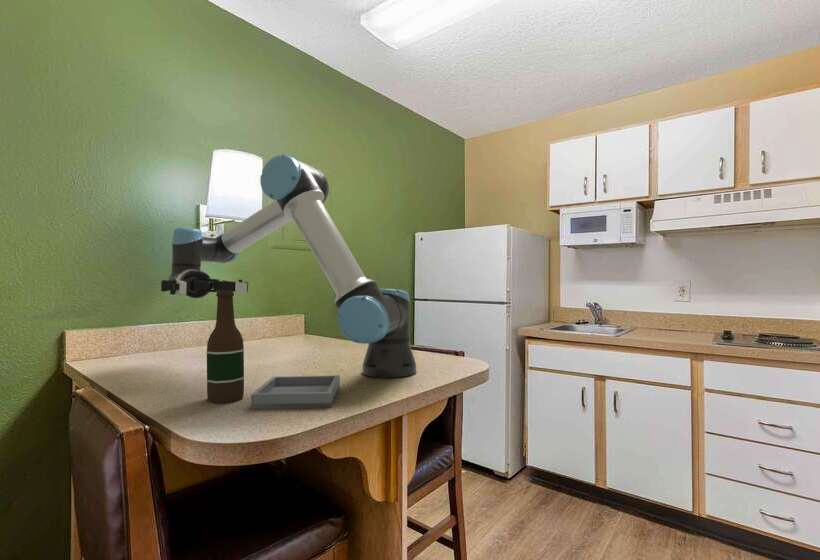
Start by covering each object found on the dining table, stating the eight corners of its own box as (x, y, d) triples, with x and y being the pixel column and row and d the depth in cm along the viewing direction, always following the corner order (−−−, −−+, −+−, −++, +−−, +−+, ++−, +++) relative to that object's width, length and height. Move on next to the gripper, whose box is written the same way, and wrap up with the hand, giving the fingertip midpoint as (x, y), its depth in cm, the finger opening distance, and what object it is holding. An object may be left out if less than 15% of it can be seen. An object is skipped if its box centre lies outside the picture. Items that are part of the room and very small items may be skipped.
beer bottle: (251, 394, 97) (250, 289, 97) (233, 404, 89) (232, 290, 89) (219, 394, 98) (218, 290, 98) (198, 404, 90) (198, 291, 90)
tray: (339, 387, 103) (339, 375, 103) (330, 407, 87) (330, 393, 87) (272, 388, 102) (272, 376, 102) (251, 409, 86) (251, 394, 86)
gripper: (239, 297, 125) (267, 303, 109) (140, 297, 109) (155, 304, 92) (240, 271, 125) (268, 274, 108) (141, 268, 109) (156, 270, 92)
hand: (216, 288), depth 100 cm, fingers open, 13 cm apart
